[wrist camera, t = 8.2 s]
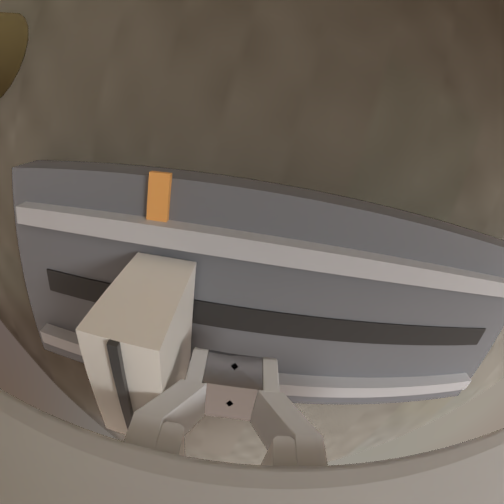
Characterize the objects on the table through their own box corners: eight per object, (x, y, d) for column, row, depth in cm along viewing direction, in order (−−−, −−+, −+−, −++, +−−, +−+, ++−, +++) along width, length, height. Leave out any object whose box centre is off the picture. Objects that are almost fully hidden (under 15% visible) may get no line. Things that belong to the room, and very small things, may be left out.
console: (515, 244, 13) (542, 263, 10) (447, 377, 17) (462, 403, 15) (36, 160, 12) (1, 171, 9) (58, 330, 16) (38, 356, 14)
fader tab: (196, 262, 11) (157, 356, 6) (190, 356, 13) (167, 449, 8) (137, 252, 11) (71, 334, 6) (142, 346, 13) (105, 432, 8)
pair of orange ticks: (172, 172, 10) (170, 174, 10) (167, 387, 15) (166, 391, 14) (151, 170, 10) (149, 171, 10) (154, 384, 15) (152, 388, 14)
